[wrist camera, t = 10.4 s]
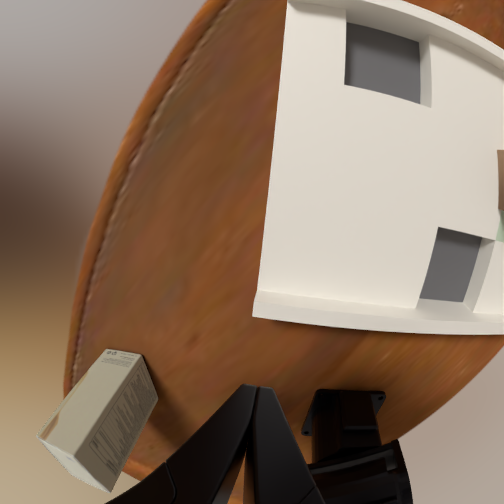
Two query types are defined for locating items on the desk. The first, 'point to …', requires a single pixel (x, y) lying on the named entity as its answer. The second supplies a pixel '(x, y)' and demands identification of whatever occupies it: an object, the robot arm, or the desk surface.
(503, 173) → the block
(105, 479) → the skincare box
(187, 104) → the desk surface
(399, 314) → the platform
